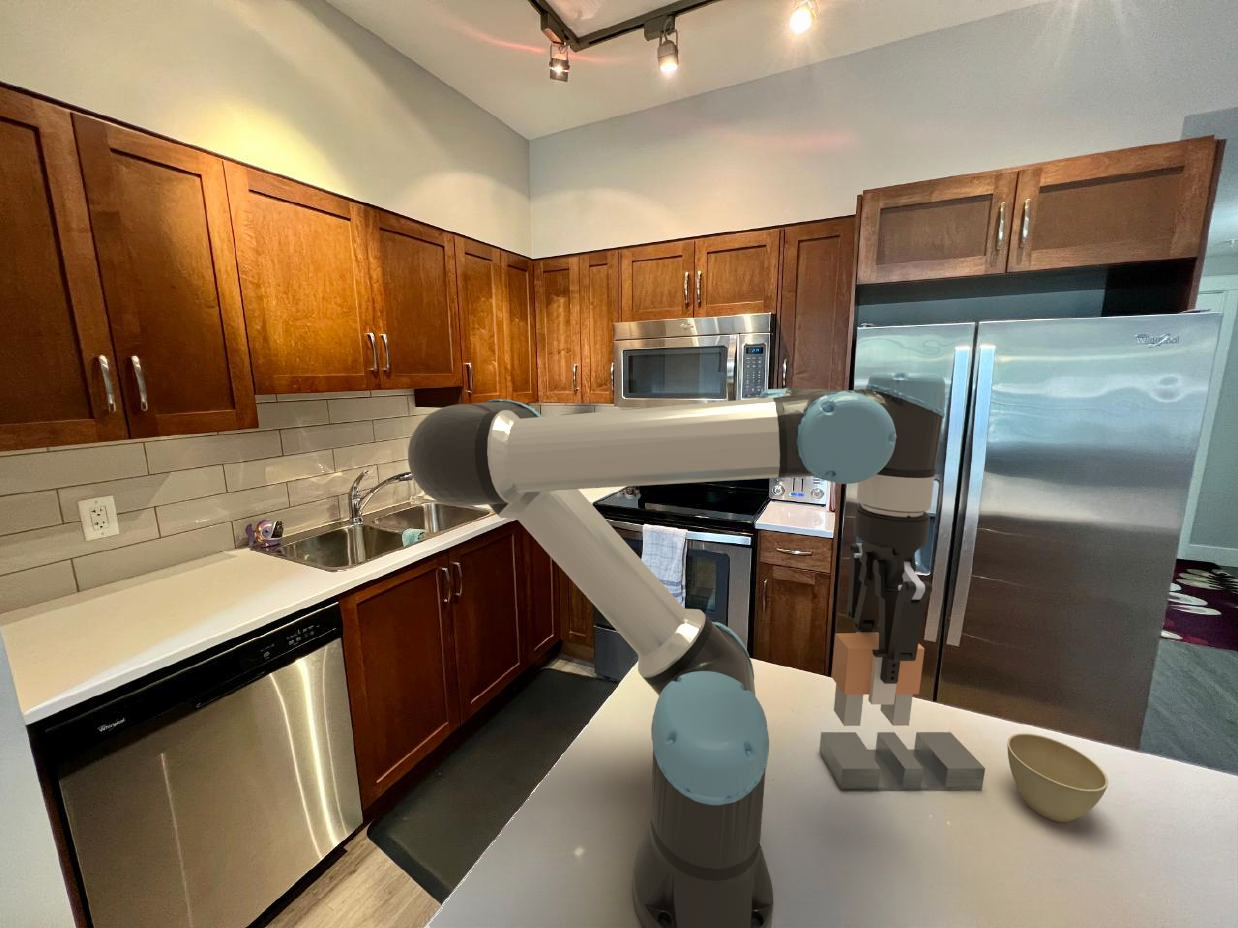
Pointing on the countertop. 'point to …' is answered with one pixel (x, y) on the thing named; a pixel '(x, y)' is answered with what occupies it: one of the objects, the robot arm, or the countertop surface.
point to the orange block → (856, 674)
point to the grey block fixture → (900, 762)
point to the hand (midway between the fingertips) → (871, 690)
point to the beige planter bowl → (1054, 777)
